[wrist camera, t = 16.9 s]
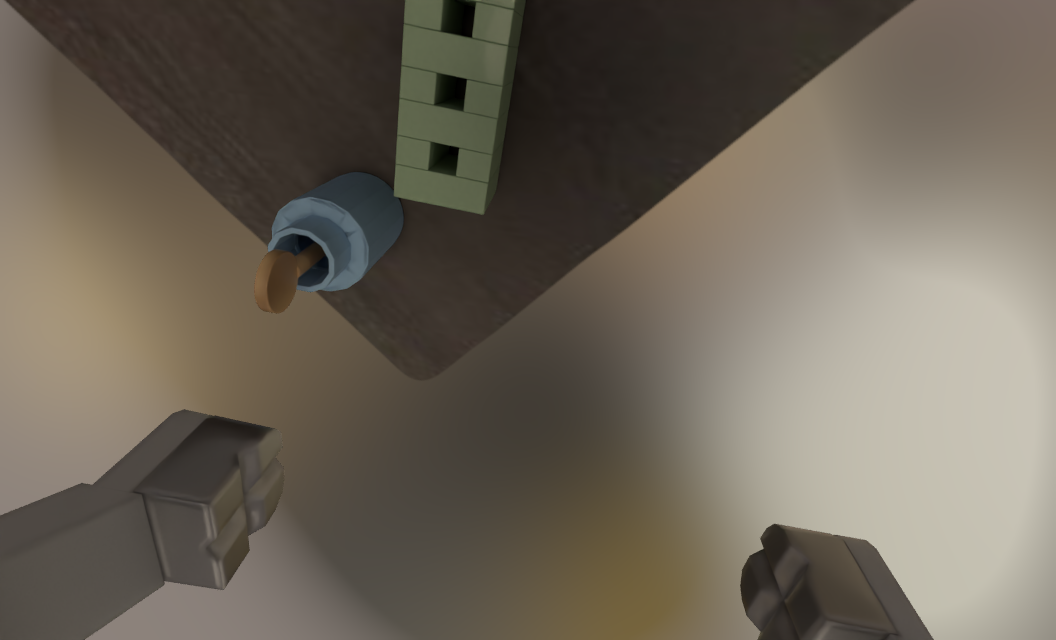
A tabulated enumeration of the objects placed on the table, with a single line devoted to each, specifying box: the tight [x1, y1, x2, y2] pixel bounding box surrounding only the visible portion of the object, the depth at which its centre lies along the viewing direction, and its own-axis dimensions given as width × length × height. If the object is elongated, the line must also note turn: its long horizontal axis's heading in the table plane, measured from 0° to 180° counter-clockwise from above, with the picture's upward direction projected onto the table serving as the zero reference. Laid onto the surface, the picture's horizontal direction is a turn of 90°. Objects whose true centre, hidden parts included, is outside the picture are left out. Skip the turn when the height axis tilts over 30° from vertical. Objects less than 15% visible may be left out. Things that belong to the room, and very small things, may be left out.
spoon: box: [254, 242, 326, 313], centre depth 37 cm, size 4×1×17 cm, turn 169°
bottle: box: [268, 172, 404, 292], centre depth 40 cm, size 7×7×12 cm
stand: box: [394, 0, 526, 215], centre depth 36 cm, size 16×7×7 cm, turn 169°
